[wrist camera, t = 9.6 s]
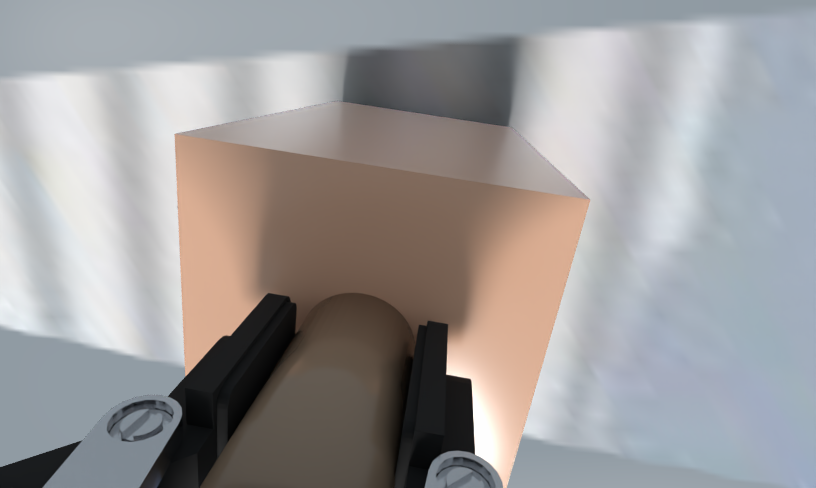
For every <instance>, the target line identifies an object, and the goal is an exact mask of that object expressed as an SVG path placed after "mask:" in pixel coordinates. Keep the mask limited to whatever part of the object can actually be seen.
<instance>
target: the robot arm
mask: <svg viewBox="0 0 816 488" xmlns="http://www.w3.org/2000/svg"><path fill="white" fill-rule="evenodd" d="M296 312H297V305H296V303H292V302H291V300H290V297H289V296H284V295H278V294H272V293H268V294H266V295H265V297H264V298H263V299H262V300H261V301H260V302H259V303H258V305H257V306H256V307H255V308H254V309H253V310H252V312H251V313H250V314H249V315H248V316H247V317H246V318H245V320H244V321H243V322H242V323H241V324H240V325H239V326H238V328H237V329H236V330H235V331H234V332H233V333H232V334H231V336H228V335H226V336H223V337H221V338H220V339H219V340H218V341H217V342H216V343H215V345H214V346H213V347H212V348H211V349H210V350H209V351H208V352H207V353H206V355H205V356H204V357H203V358H202V359H201V360H200V361H199V362H198V363H197V365H196V366H195V367H194V368H193V369H192V370H191V371H190V372H189V373H188V375H187V376H186V377H185V378H184V379H183V380H182V381H181V382H180V383H179V385H178V386H177V387H176V388H175V389H174V390H173V391H172V392H171V393H170V395H169V396H168V397H167V396H162V395H145V396H140V397H135V398H132V399H129V400H127V401H124V402H122V403H120V404H118V405H116V406H115V407H113V408H111V409H110V410H109V411H108V412H107V413H106V414H105V415H104V416H103V417H102V418H101V419H100V420H99V422H98V423H97V424H96V425H95V426H94V427H93V429H92V430H91V431H90V432H89V433H88V435H87V436H86V437H85V438H84V439H83V440H82V441H79V442H76V443H73V444H70V445H67V446H64V447H61V448H58V449H55V450H52V451H49V452H46V453H43V454H39V455H36V456H33V457H30V458H27V459H24V460H21V461H18V462H15V463H12V464H9V465H6V466H3V467H0V488H200V486H201V484H202V483H203V481H204V480H205V478H206V476H207V475H208V473H209V472H210V470H211V468H212V467H213V465H214V464H215V462H216V460H217V459H218V457H219V456H220V454H221V452H222V451H223V449H224V448H225V446H226V444H227V443H228V441H229V440H230V438H231V436H232V435H233V433H234V432H235V430H236V428H237V427H238V425H239V424H240V422H241V420H242V419H243V417H244V416H245V414H246V412H247V411H248V409H249V408H250V406H251V404H252V403H253V401H254V400H255V398H256V396H257V395H258V393H259V392H260V390H261V388H262V387H263V385H264V384H265V382H266V380H267V379H268V377H269V376H270V374H271V372H272V371H273V369H274V368H275V366H276V364H277V363H278V361H279V360H280V358H281V356H282V355H283V353H284V352H285V350H286V348H287V347H288V345H289V344H290V342H291V340H292V339H293V337H294V336H295V330H296ZM447 343H448V324H446V323H440V322H434V321H428V322H427V326H425V325H419V327H418V333H417V339H416V345H415V351H414V356H413V363H412V369H411V376H410V382H409V389H408V395H407V402H406V408H405V415H404V421H403V428H402V434H401V441H400V447H399V454H398V460H397V467H396V473H395V488H503V483H502V480H501V478H500V476H499V474H498V472H497V471H496V470H495V469H494V468H493V466H492V465H491V464H490V463H489V462H487V461H486V460H484V459H483V458H481V457H480V456H477V455H475V437H474V417H473V397H472V381H471V379H469V378H464V377H458V376H452V375H447V374H446V372H447Z"/></svg>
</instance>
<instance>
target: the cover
mask: <svg viewBox="0 0 816 488" xmlns="http://www.w3.org/2000/svg"><path fill="white" fill-rule="evenodd" d="M175 152H176V175H177V197H178V220H179V243H180V265H181V288H182V310H183V333H184V355H185V377H186V376H187V375H188V373H189V372H190V371H191V370H192V369H193V368H194V367H195V366H196V365H197V363H198V362H199V361H200V360H201V359H202V358H203V357H204V356H205V355H206V353H207V352H208V351H209V350H210V349H211V348H212V347H213V346H214V345H215V343H216V342H217V341H218V340H219V339H220V338H221V337H223V336H226V335H228V336H231V334H232V333H233V332H234V331H235V330H236V329H237V328H238V326H239V325H240V324H241V323H242V322H243V321H244V320H245V318H246V317H247V316H248V315H249V314H250V313H251V312H252V310H253V309H254V308H255V307H256V306H257V305H258V303H259V302H260V301H261V300H262V299H263V298H264V297H265V295H266V294H268V293H272V294H278V295H284V296H289V297H290V300H291V302H292V303H296V305H297V312H296V330H295V336H294V337H293V339H292V340H291V342H290V344H289V345H288V347H287V348H286V350H285V352H284V353H283V355H282V356H281V358H280V360H279V361H278V363H277V364H276V366H275V368H274V369H273V371H272V372H271V374H270V376H269V377H268V379H267V380H266V382H265V384H264V385H263V387H262V388H261V390H260V392H259V393H258V395H257V396H256V398H255V400H254V401H253V403H252V404H251V406H250V408H249V409H248V411H247V412H246V414H245V416H244V417H243V419H242V420H241V422H240V424H239V425H238V427H237V428H236V430H235V432H234V433H233V435H232V436H231V438H230V440H229V441H228V443H227V444H226V446H225V448H224V449H223V451H222V452H221V454H220V456H219V457H218V459H217V460H216V462H215V464H214V465H213V467H212V468H211V470H210V472H209V473H208V475H207V476H206V478H205V480H204V481H203V483H202V484H201V486H200V488H395V473H396V467H397V460H398V454H399V447H400V441H401V434H402V428H403V421H404V415H405V408H406V402H407V395H408V389H409V382H410V376H411V369H412V363H413V356H414V351H415V345H416V339H417V333H418V327H419V325H425V326H427V322H428V321H434V322H440V323H446V324H448V343H447V372H446V374H447V375H452V376H458V377H464V378H469V379H471V381H472V397H473V417H474V437H475V455H477V456H480V457H481V458H483V459H484V460H486V461H487V462H489V463H490V464H491V465H492V466H493V468H494V469H495V470H496V471H497V472H498V474H499V476H500V478H501V480H502V483H503V488H507V484H508V481H509V477H510V474H511V470H512V467H513V464H514V460H515V456H516V453H517V450H518V447H519V443H520V440H521V436H522V433H523V429H524V426H525V423H526V419H527V416H528V412H529V409H530V405H531V402H532V398H533V395H534V392H535V388H536V385H537V381H538V378H539V374H540V371H541V368H542V364H543V361H544V357H545V354H546V350H547V347H548V343H549V340H550V337H551V333H552V330H553V326H554V323H555V319H556V316H557V313H558V309H559V306H560V302H561V299H562V295H563V292H564V289H565V285H566V282H567V278H568V275H569V271H570V268H571V264H572V261H573V258H574V254H575V251H576V247H577V244H578V240H579V237H580V234H581V230H582V227H583V223H584V220H585V216H586V213H587V209H588V206H589V203H590V199H589V198H588V197H587V196H586V195H585V194H583V193H582V192H581V191H580V190H579V189H578V188H577V187H576V186H575V185H574V184H573V183H572V182H570V181H569V180H568V179H567V178H566V177H565V176H564V175H563V174H562V173H561V172H560V171H559V170H557V169H556V168H555V167H554V166H553V165H552V164H551V163H550V162H549V161H548V160H547V159H546V158H544V157H543V156H542V155H541V154H540V153H539V152H538V151H537V150H536V149H535V148H534V147H533V146H531V145H530V144H529V143H528V142H527V141H526V140H525V139H524V138H523V137H522V136H521V135H520V134H519V133H517V132H516V131H515V130H514V129H513V128H512V127H506V126H499V125H493V124H486V123H479V122H473V121H466V120H460V119H453V118H447V117H440V116H434V115H427V114H420V113H414V112H407V111H401V110H394V109H388V108H381V107H374V106H368V105H361V104H355V103H348V102H342V101H334V102H329V103H324V104H319V105H314V106H309V107H304V108H299V109H295V110H290V111H285V112H280V113H275V114H270V115H265V116H260V117H255V118H250V119H246V120H241V121H236V122H231V123H226V124H221V125H216V126H211V127H206V128H202V129H197V130H192V131H187V132H182V133H177V134H175Z"/></svg>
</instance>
